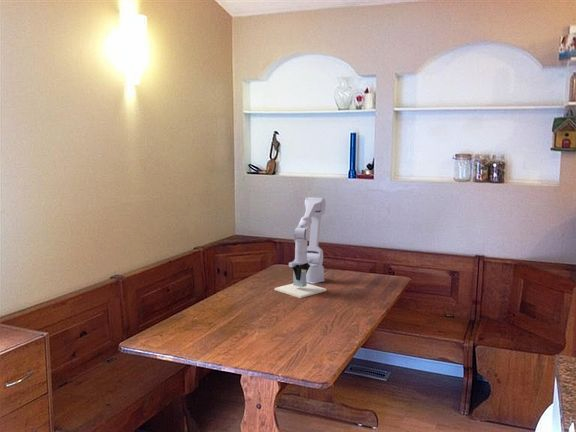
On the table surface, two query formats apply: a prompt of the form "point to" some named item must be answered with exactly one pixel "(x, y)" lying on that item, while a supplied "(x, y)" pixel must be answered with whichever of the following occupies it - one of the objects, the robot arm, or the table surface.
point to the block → (300, 279)
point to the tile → (300, 290)
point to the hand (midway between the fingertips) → (300, 279)
